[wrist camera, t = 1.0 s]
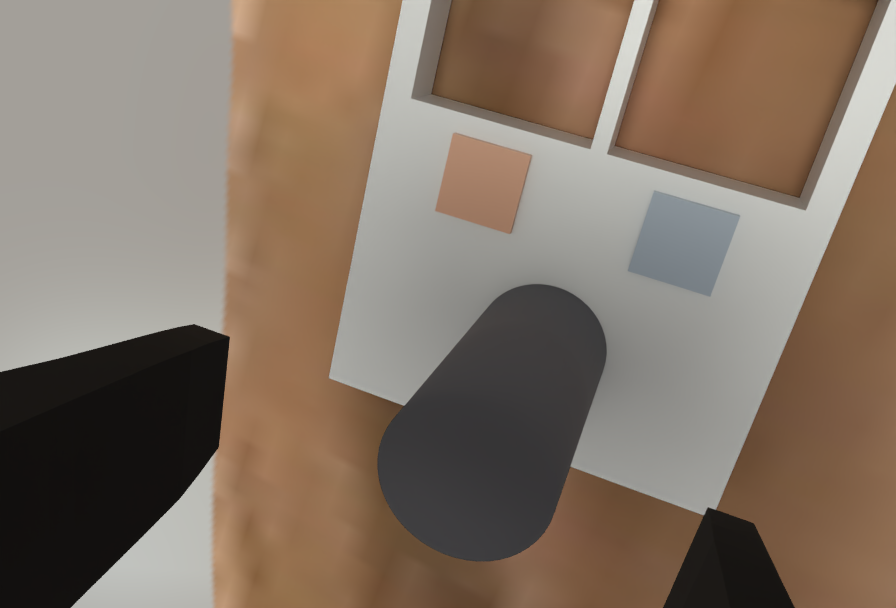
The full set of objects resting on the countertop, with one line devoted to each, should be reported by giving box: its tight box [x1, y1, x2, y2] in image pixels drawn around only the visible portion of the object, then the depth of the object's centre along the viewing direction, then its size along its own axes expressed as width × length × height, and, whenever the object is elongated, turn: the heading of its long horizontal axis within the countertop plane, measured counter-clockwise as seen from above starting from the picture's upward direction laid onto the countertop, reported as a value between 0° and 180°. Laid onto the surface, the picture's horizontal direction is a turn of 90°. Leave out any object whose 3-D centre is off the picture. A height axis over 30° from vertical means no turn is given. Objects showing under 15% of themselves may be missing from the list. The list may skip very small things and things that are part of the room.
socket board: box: [329, 0, 896, 515], centre depth 21 cm, size 14×11×2 cm
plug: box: [378, 284, 607, 561], centre depth 18 cm, size 3×3×7 cm
